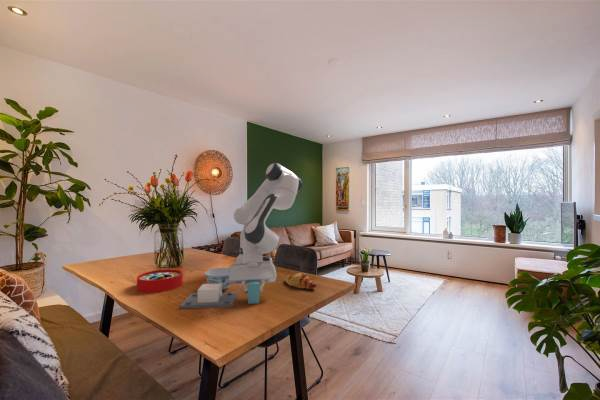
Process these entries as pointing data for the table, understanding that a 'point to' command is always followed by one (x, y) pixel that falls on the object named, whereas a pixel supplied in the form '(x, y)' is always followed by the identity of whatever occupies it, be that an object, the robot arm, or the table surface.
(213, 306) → the stack base
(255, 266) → the robot arm
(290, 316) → the table surface
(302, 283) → the croissant
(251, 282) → the teal brick
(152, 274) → the toy clock
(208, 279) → the chinaware
